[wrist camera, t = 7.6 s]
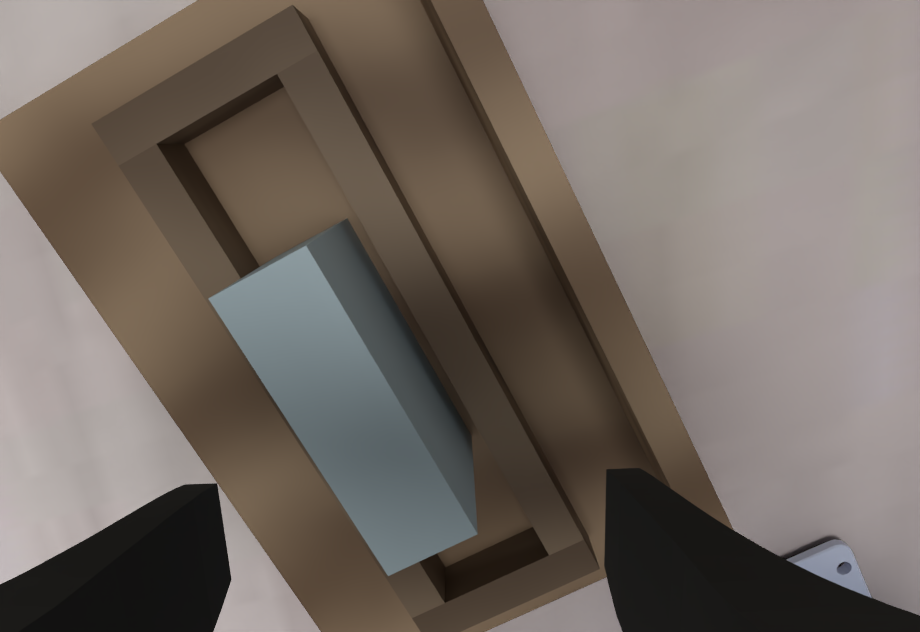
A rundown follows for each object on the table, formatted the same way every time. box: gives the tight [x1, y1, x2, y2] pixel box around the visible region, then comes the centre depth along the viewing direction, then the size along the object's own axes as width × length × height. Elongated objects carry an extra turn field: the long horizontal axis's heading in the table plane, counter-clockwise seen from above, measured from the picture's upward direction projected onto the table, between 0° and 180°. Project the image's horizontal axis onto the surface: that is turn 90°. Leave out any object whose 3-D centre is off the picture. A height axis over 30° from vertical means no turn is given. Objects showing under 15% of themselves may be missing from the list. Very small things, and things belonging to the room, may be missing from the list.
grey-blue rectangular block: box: [208, 218, 478, 576], centre depth 17 cm, size 8×3×6 cm, turn 28°
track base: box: [0, 0, 733, 632], centre depth 19 cm, size 22×14×5 cm, turn 28°
